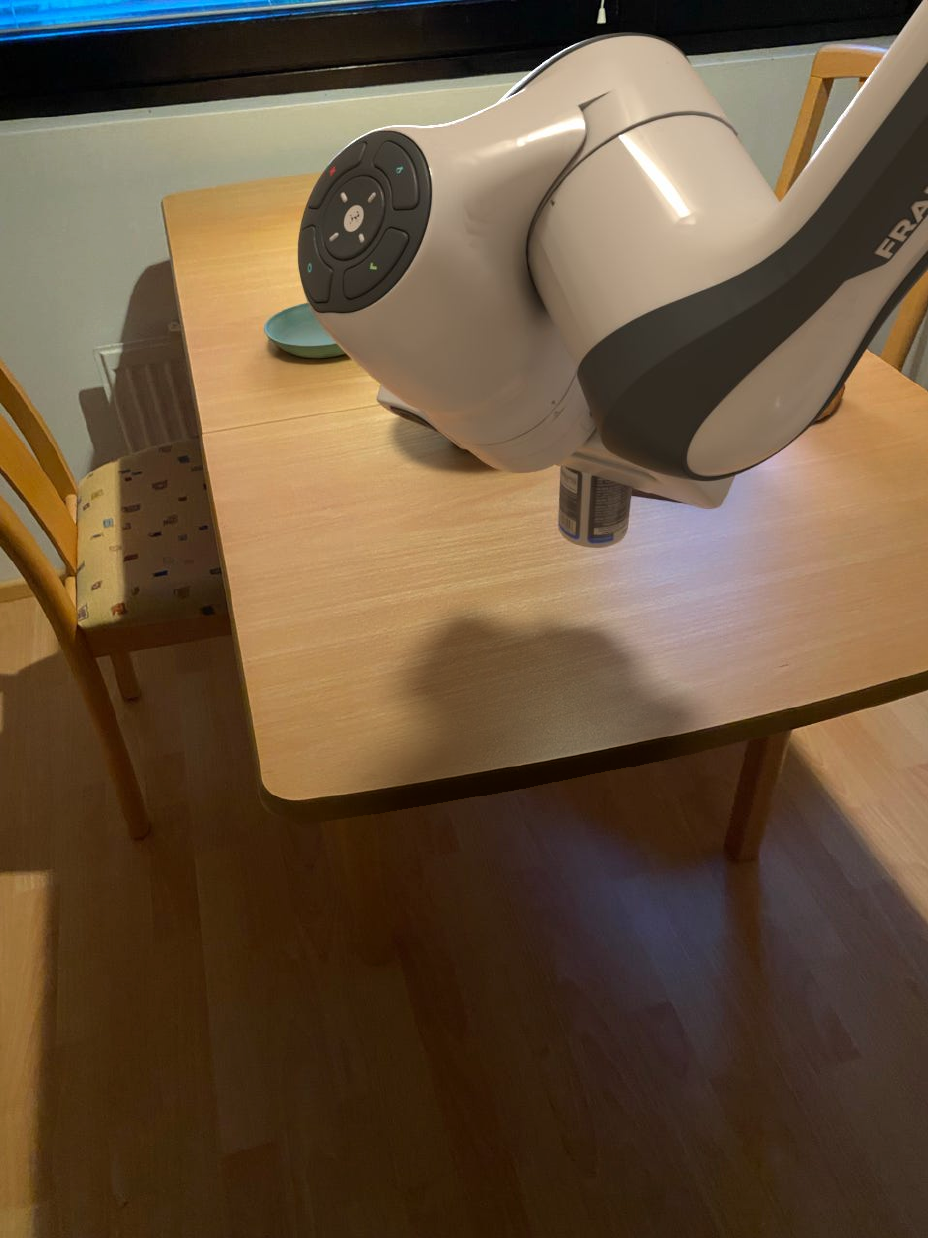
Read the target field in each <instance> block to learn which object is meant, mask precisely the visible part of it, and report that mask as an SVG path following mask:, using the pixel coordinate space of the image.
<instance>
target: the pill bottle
mask: <svg viewBox="0 0 928 1238" xmlns="http://www.w3.org/2000/svg"><path fill="white" fill-rule="evenodd" d="M559 467H560V469H559V490H558V496H559V497H558V517H557V524H558V525H557V527H558V531H559V533H560V535H561V536H562V537H563V538H564V539H565V540H566V541H567V542H569V543H572V544H574V545H575V546H579V547H585V548H589V549H590V548H591V549H602V548H607V547H612V546H614V545H615V544H618V543H620V542H621V541H622V540H623V539H624V538H625V537H626V535H627V534H628V529H629V524H630V523H629V522H630V513H631V512H630V510H631V501H632V495H631V493H632V488H631V487H629V486H627V485H624V484H620V483H617V482H614V481H610V480H607V479H604V478H600V477H597V476H594V475H591V474H587V473H584V472H581V471H577V470H574V469H571V468H568V467H564V466H559Z"/></svg>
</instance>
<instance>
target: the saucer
mask: <svg viewBox="0 0 928 1238" xmlns="http://www.w3.org/2000/svg"><path fill="white" fill-rule="evenodd" d="M263 332H264V334H265V335H266V336H267V338H268V339H269V340H270V341H271V342H272V343H273V344H275V346H277V347H279V348H280V349H281V350H283V351H285V352H287V353H288V354H291V355H293V356H296V357H300V358H305V359H306V358H307V359H326V358H334V357H339V356H342V355H347V354H346V353H345V352H344V351H343V350H342V349H341V348H340V347H339V346H338V345H337V344H336V343H335V341H334V340H333V339H332V338H331V337H330V336H329V335H328V333H327V332H326V331H325V330H324V328H323V327H322V326H321V324H320V323H319V322H318V320H317V319H316V317H315V316H314V314H313V312H312V310H311V308H310V306H309V304H308V302H304V303H300V304H296V305H293V306H289V307H288V308H285V309H282V310H281V311H278V312H277V313H275V314H273V315H272V316H271V317H269V318H268V319H267V321H265V323H264V326H263Z"/></svg>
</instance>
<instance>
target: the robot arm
mask: <svg viewBox="0 0 928 1238" xmlns="http://www.w3.org/2000/svg"><path fill="white" fill-rule="evenodd" d="M829 131H830V132H829V133H828V134H827V135H826V136H825V139H824V140H823V141H822V142H821V144H820V146H819V147H818V148H817V150H816V151H815V152H814V154H813V155H812V156H811V158H810V160H809V161H808V162H807V164H806V165H805V167H804V168H803V169H802V171H801V172H800V173H799V175H798V177H797V178H796V179H795V181H794V182H793V184H792V185H791V187H790V188H789V189H788V191H787V192H786V193H785V195H784V196H783V197H782V199H781V201H780V200H779V198H778V197H777V195H776V194H775V193H774V192H775V191H774V190H772V188H771V186H770V185H769V183H768V182H767V180H766V179H765V177H764V175H763V174H762V173H761V171H760V169H759V168H758V166H757V165H756V163H755V162H754V161H753V159H752V158H751V156H750V154H749V152H748V151H747V150H746V148H745V147H744V145H743V144H742V141H741V139H740V137H739V133H738V131H737V130H736V128H735V127H734V125H733V124H732V122H731V121H730V119H729V117H728V116H727V114H726V113H725V112H724V110H723V108H722V107H721V106H720V104H719V103H718V102H717V100H716V98H715V96H714V95H713V94H712V93H711V91H710V90H709V88H708V87H707V85H706V84H705V82H704V81H703V79H702V78H701V77H700V75H699V74H698V72H697V71H696V70H695V67H693V65H692V63H691V61H690V59H689V58H688V57H687V55H686V54H685V52H684V51H683V50H682V49H680V48H679V47H678V46H677V45H675V44H674V43H673V42H671V41H669V40H667V39H666V38H663V37H660V36H657V35H654V34H650V33H649V34H648V33H643V32H616V33H608V34H602V35H597V36H594V37H591V38H588V39H585V40H582V41H580V42H577V43H574V44H573V45H570V46H569V47H567V48H564V49H563V50H561V51H559V52H557V53H556V54H554V55H552V56H550V58H549V59H547V60H545V61H544V62H542V64H540V65H539V66H537V67H536V68H535V69H533V70H532V71H530V73H528V74H527V75H526V76H525V77H523V78H522V79H521V80H520V81H519V82H517V83H516V84H514V86H513V87H511V88H510V89H509V90H508V91H507V92H506V93H505V94H504V95H503V96H501V98H500V99H498V101H497V102H496V103H495V104H493V105H491V106H489V107H487V108H485V109H482V110H480V111H478V112H475V113H474V114H471V115H468V116H466V117H464V118H461V119H458V120H455V121H452V122H448V123H444V124H438V125H427V126H426V125H425V126H421V125H420V126H419V125H391V126H385V127H380V128H377V129H374V130H371V131H369V132H367V133H365V134H363V135H361V136H360V137H358V138H356V139H355V140H353V141H352V142H350V143H349V144H348V145H346V146H345V147H344V148H343V149H342V150H341V151H339V152H338V154H336V156H334V158H332V160H331V161H330V162H329V163H328V164H327V166H326V167H325V168H324V170H323V171H322V173H321V174H320V176H319V178H318V179H317V181H316V183H315V184H314V186H313V188H312V191H311V192H310V194H309V197H308V200H307V201H306V204H305V208H304V211H303V214H302V218H301V222H300V226H299V232H298V238H297V239H298V240H297V265H298V266H297V268H298V274H299V278H300V282H301V287H302V290H303V294H304V296H305V299H306V303H308V304H309V306H310V308H311V310H312V312H313V314H314V316H315V317H316V319H317V320H318V322H319V323H320V324H321V326H322V327H323V328H324V330H325V331H326V332H327V333H328V335H329V336H330V337H331V338H332V339H333V340H334V341H335V343H336V344H337V345H338V346H339V347H340V348H341V349H342V350H343V351H344V352H345V353H346V354H345V355H347V356H348V357H349V358H350V359H351V360H352V361H353V362H354V363H355V364H356V365H357V366H358V367H359V368H361V370H363V371H364V372H365V373H366V374H368V375H369V376H370V377H371V378H372V379H373V380H374V381H375V382H376V383H378V384H379V389H378V391H377V394H376V402H377V403H378V404H379V405H380V407H382V408H383V409H385V410H387V411H388V412H390V413H392V414H393V415H396V416H398V417H400V418H402V419H404V420H407V421H410V422H412V423H414V424H418V425H420V426H422V427H424V428H427V429H429V430H431V431H433V432H437V431H439V432H440V433H439V432H437V433H439V434H441V433H442V434H441V435H443V436H444V437H445V438H447V439H448V440H449V441H450V442H452V443H453V444H454V445H456V446H457V447H459V448H460V449H462V450H467V451H469V452H470V453H471V454H473V456H475V457H477V458H478V459H479V460H481V461H482V462H483V463H485V464H486V465H488V466H490V467H492V468H493V469H496V470H499V471H503V472H506V473H512V474H528V473H534V472H539V471H543V470H546V469H549V468H551V467H553V466H558V467H560V466H564V467H568V468H571V469H574V470H577V471H581V472H584V473H587V474H591V475H594V476H597V477H600V478H604V479H607V480H610V481H614V482H617V483H620V484H624V485H627V486H629V487H631V488H634V489H637V490H640V491H643V492H646V493H653V494H657V495H660V496H663V497H666V498H670V499H673V500H676V501H680V502H679V503H681V502H683V504H687V505H689V506H694V507H696V508H700V509H703V510H715V509H718V508H719V507H721V506H722V505H723V503H724V502H725V500H726V498H727V496H728V493H729V491H730V489H731V487H732V485H733V482H734V479H735V477H736V476H737V475H740V474H742V473H745V472H747V471H749V470H751V469H753V468H755V467H757V466H759V465H761V464H763V463H764V462H766V461H768V460H770V459H771V458H773V457H774V456H776V455H777V454H779V453H780V452H782V451H783V450H785V449H786V448H787V447H788V446H789V445H791V444H792V443H794V442H795V441H796V440H797V439H798V438H799V437H801V436H802V435H803V434H804V433H805V432H806V431H808V430H809V428H810V427H811V426H812V425H814V423H815V422H817V421H818V420H817V419H818V418H819V417H820V415H821V414H822V413H823V412H824V411H825V410H826V408H827V407H828V406H829V405H830V403H831V402H832V401H833V399H834V398H835V397H836V395H837V394H838V392H839V391H840V390H841V388H842V387H843V385H844V384H845V383H846V382H847V381H848V379H849V378H850V376H851V374H852V373H853V371H854V370H855V368H856V367H857V365H858V363H859V362H860V360H861V359H862V357H863V356H864V354H865V353H866V351H867V349H868V348H869V346H870V345H871V344H872V342H873V340H874V339H875V337H876V336H877V334H878V333H879V331H880V330H881V328H882V327H883V325H884V324H885V323H886V322H887V320H888V318H889V317H890V316H891V314H892V313H893V312H894V311H895V309H896V308H898V306H899V305H900V304H901V302H902V301H903V300H904V298H905V297H906V296H907V295H908V293H909V292H910V291H911V290H912V289H913V287H914V286H916V284H917V283H918V282H919V281H920V279H922V277H923V276H924V275H925V273H926V272H927V271H928V0H921V3H920V4H919V5H918V7H917V8H916V10H915V11H914V12H913V14H912V15H911V17H910V18H909V19H908V21H907V22H906V24H905V25H904V27H902V30H901V31H900V32H899V34H898V35H897V37H896V38H895V39H894V41H893V42H892V44H891V45H890V46H889V48H888V49H887V51H886V52H885V54H884V55H883V56H882V58H880V60H879V62H878V64H877V65H876V66H875V67H874V69H873V70H872V72H871V73H870V75H869V76H868V77H867V78H866V80H865V82H864V84H863V85H862V86H861V88H860V89H859V90H858V92H857V93H856V94H855V96H854V98H852V100H851V101H850V103H849V104H848V106H847V108H846V109H845V110H844V111H843V113H842V114H841V116H840V117H839V118H838V120H837V121H836V123H835V124H834V126H832V128H831V130H829ZM845 385H846V384H845Z"/></svg>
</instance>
